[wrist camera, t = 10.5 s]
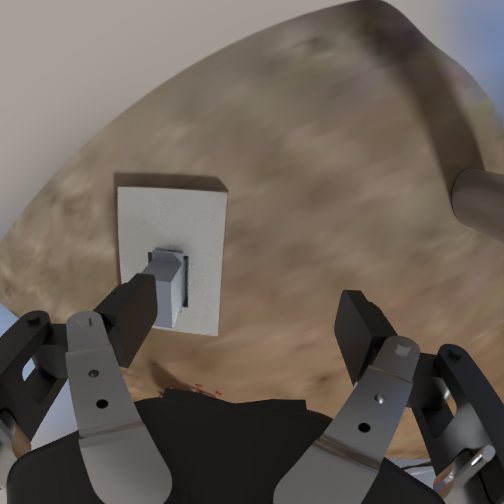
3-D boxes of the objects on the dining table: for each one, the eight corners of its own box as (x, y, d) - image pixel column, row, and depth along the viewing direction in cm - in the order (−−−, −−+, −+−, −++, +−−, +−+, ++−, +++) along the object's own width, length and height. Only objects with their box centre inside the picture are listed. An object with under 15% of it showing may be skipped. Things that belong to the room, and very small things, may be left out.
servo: (186, 247, 36) (170, 271, 29) (186, 304, 39) (172, 336, 31) (157, 245, 36) (135, 267, 29) (159, 300, 39) (141, 331, 31)
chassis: (228, 190, 34) (227, 192, 32) (219, 329, 41) (217, 336, 39) (123, 185, 34) (118, 186, 32) (130, 317, 40) (126, 323, 38)
